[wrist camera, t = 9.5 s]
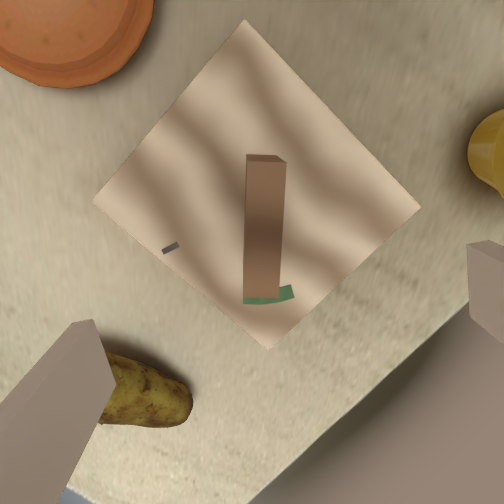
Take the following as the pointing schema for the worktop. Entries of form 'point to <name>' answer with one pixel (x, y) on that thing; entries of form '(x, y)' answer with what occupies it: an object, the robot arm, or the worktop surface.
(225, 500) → the worktop surface
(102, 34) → the pie
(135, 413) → the potato
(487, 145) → the plant pot
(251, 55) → the plate
